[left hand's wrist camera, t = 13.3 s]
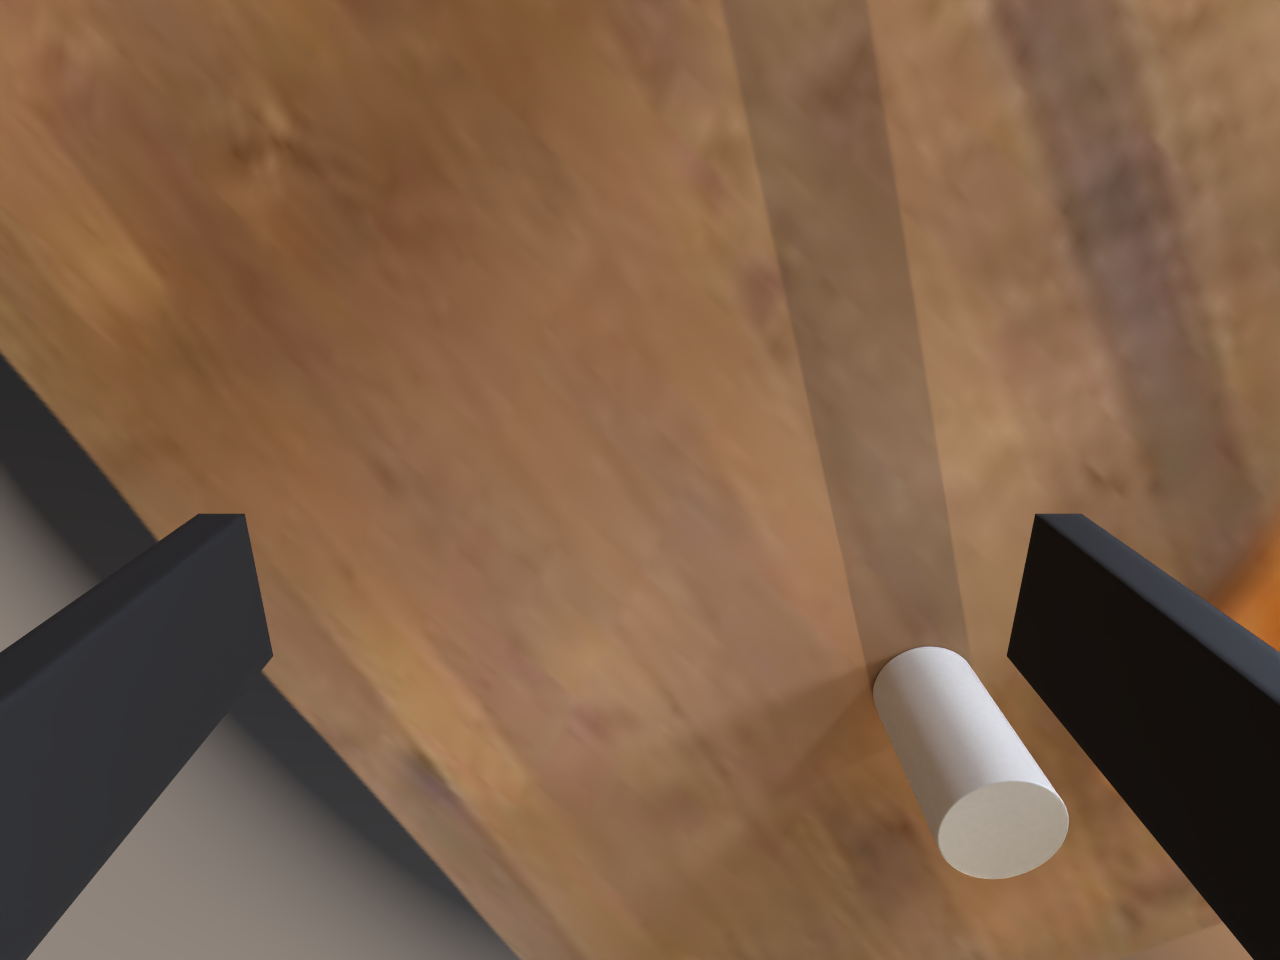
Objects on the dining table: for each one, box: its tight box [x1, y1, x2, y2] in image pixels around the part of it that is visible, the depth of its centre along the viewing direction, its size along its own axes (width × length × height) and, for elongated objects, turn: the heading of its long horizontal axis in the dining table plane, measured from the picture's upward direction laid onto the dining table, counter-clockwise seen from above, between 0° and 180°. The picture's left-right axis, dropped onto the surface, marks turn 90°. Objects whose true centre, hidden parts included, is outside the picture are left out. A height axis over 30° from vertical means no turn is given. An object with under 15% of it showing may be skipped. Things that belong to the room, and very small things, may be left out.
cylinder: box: [873, 647, 1069, 879], centre depth 40 cm, size 6×6×11 cm
